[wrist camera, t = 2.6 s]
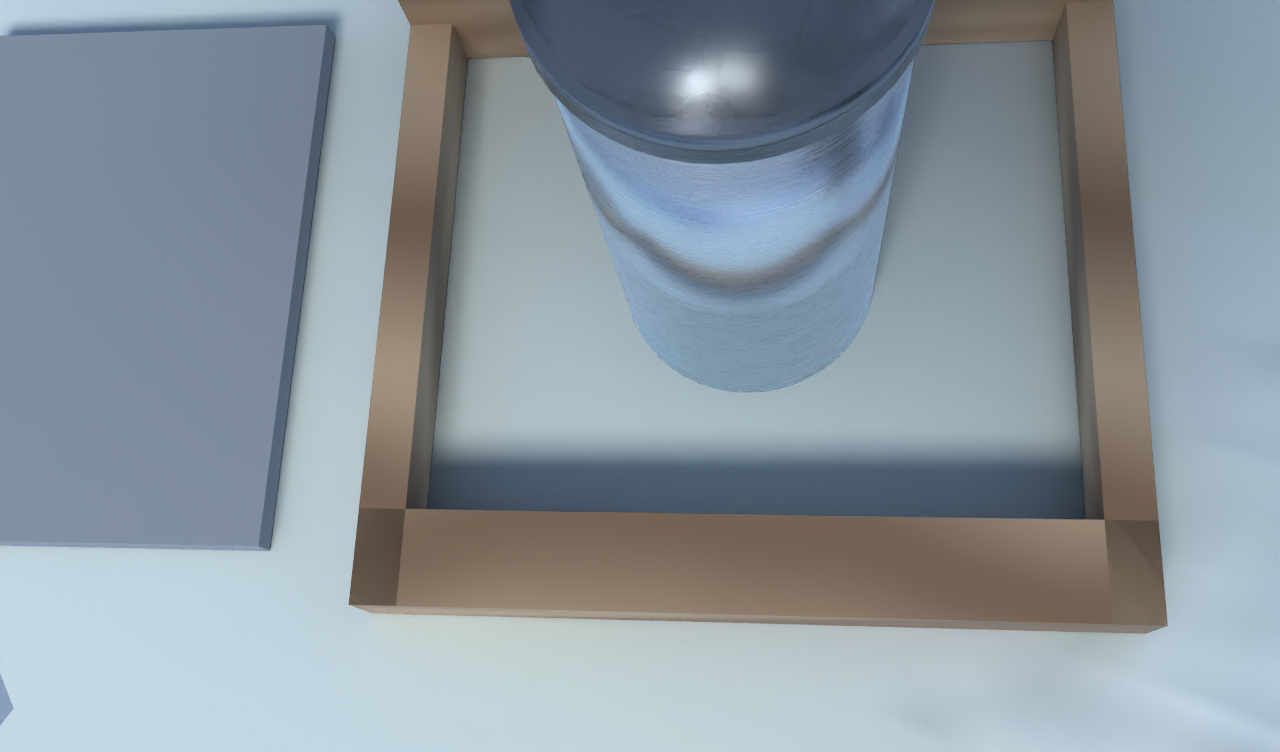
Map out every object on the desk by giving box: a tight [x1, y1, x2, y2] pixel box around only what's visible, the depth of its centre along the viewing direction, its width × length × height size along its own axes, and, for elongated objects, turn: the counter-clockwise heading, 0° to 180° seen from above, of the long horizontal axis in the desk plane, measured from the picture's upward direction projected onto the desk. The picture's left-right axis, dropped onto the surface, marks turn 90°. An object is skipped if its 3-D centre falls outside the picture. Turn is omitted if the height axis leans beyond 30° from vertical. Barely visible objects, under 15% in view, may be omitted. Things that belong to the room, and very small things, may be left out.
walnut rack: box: [349, 0, 1168, 633], centre depth 23 cm, size 16×16×9 cm
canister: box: [509, 0, 936, 392], centre depth 22 cm, size 6×6×12 cm
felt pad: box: [0, 25, 335, 551], centre depth 29 cm, size 13×9×1 cm
